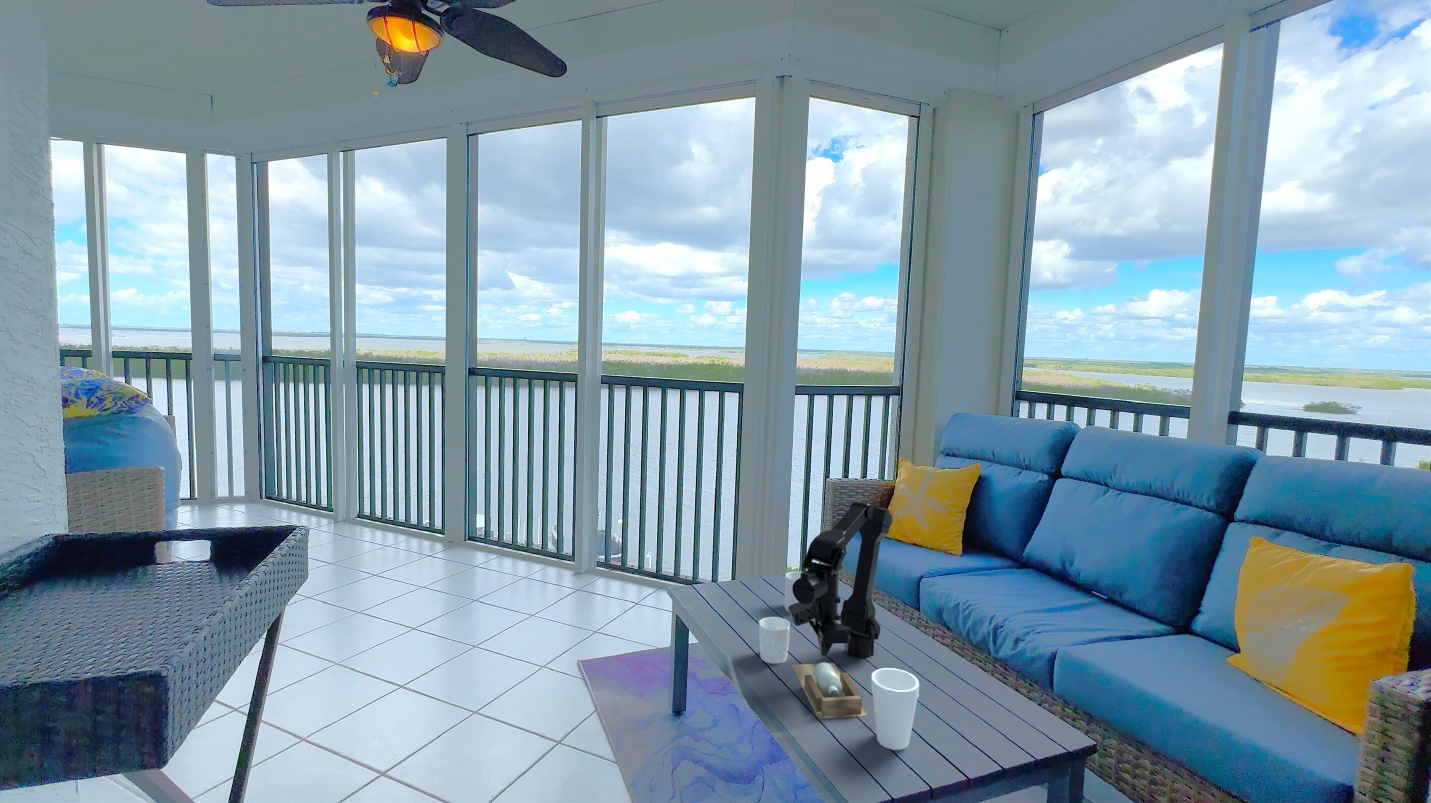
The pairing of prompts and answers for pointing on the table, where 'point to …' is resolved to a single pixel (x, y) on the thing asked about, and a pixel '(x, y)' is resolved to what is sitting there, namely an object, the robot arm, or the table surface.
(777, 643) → the white cup
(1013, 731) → the table surface
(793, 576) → the mug
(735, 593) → the table surface
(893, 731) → the foam cup
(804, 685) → the cradle board
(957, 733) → the table surface
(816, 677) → the bottle
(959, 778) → the table surface
